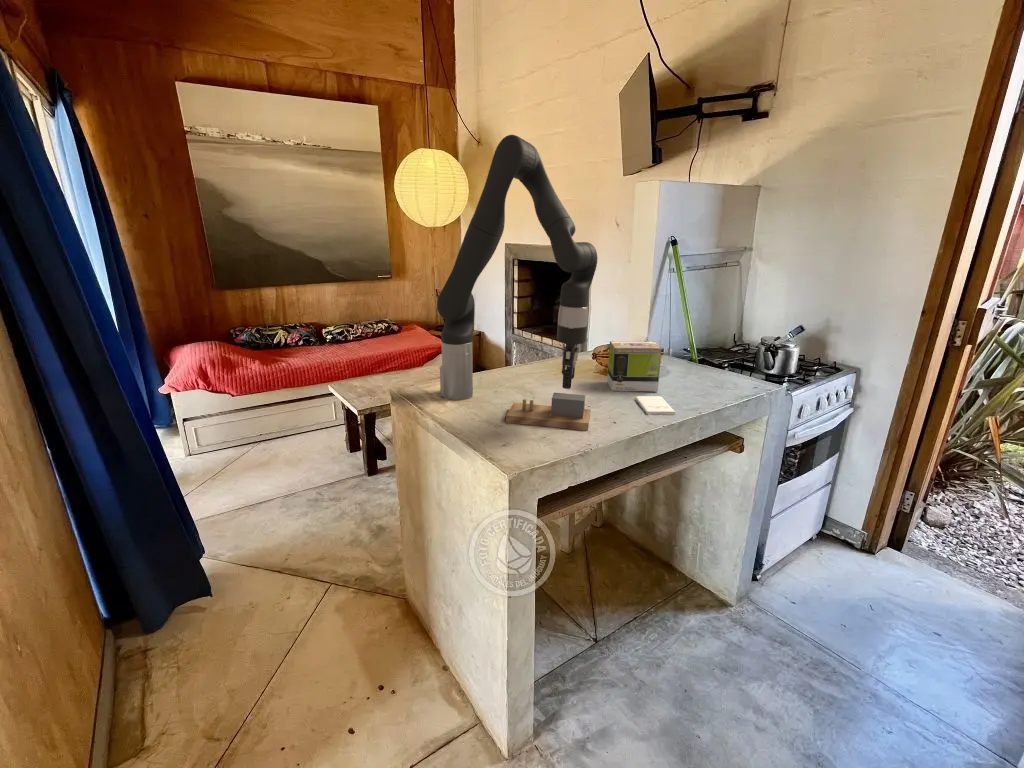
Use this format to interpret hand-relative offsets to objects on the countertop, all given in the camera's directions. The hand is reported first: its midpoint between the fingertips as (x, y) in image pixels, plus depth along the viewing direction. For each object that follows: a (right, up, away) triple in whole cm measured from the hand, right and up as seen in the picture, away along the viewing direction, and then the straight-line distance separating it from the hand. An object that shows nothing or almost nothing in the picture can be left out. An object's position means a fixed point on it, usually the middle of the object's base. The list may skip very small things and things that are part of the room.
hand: (568, 383), depth 131 cm
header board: (-5, -10, +5) cm, 12 cm away
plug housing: (0, -8, +3) cm, 9 cm away
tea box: (+25, -2, +32) cm, 40 cm away
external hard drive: (+27, -8, +15) cm, 32 cm away
